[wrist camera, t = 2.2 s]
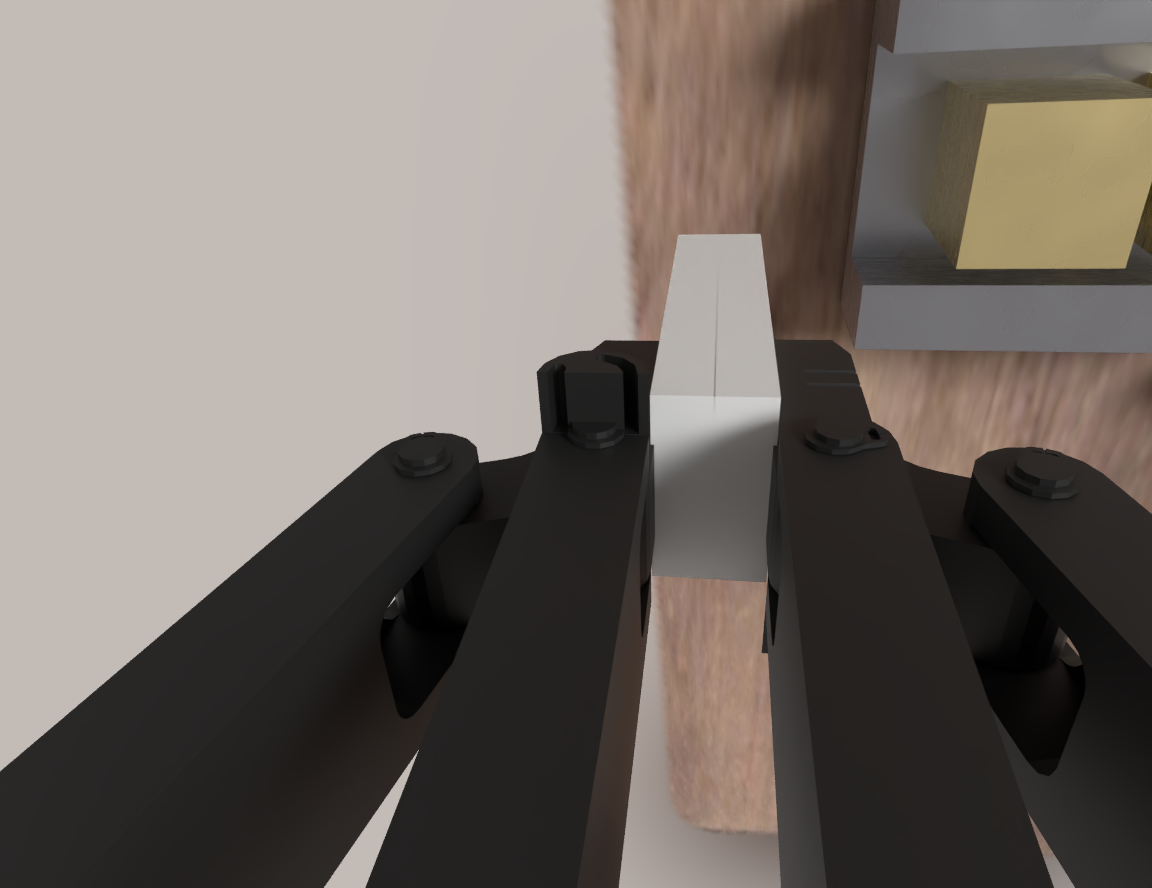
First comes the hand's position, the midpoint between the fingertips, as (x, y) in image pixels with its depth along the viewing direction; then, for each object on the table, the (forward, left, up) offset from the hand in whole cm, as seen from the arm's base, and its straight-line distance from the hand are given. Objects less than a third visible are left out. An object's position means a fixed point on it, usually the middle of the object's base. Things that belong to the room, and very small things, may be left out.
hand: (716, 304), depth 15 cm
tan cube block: (0, +8, -11) cm, 13 cm away
